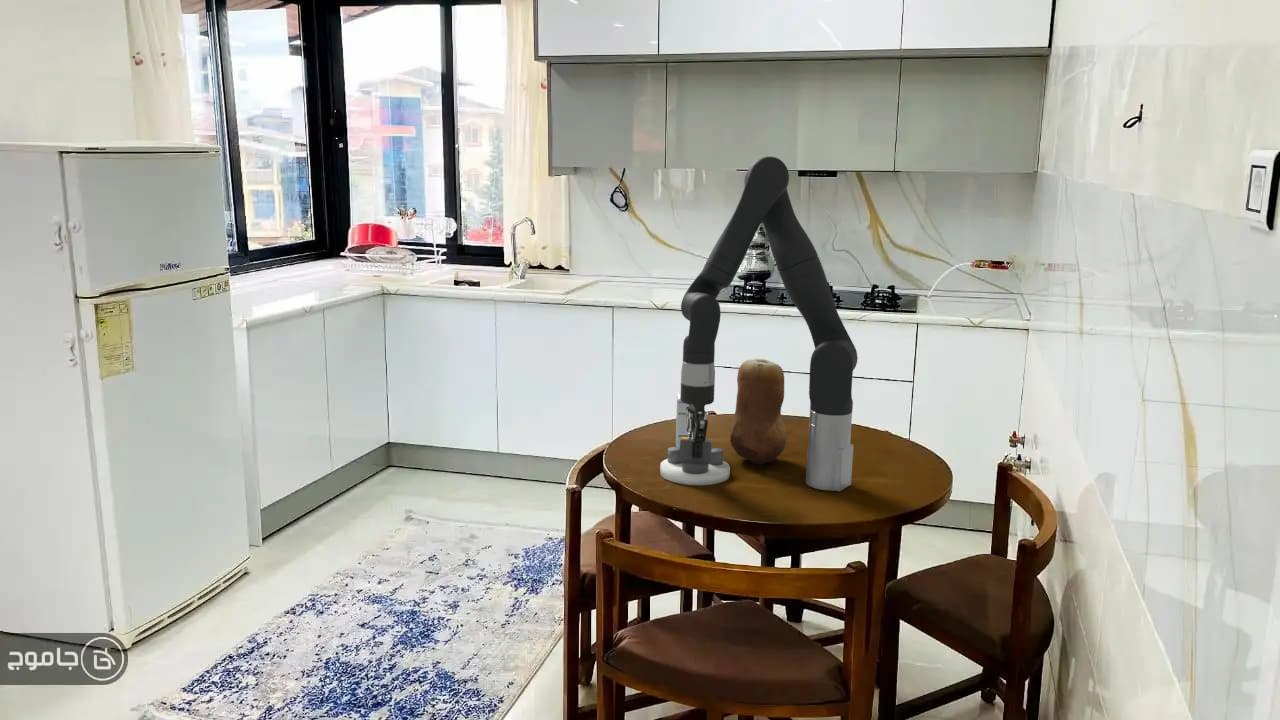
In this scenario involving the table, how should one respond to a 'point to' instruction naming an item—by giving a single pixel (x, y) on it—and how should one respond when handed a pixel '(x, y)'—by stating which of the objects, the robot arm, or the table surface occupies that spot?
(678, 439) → the syrup box
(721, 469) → the plate
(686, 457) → the wing knob
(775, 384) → the butternut squash
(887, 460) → the table surface
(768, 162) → the robot arm
